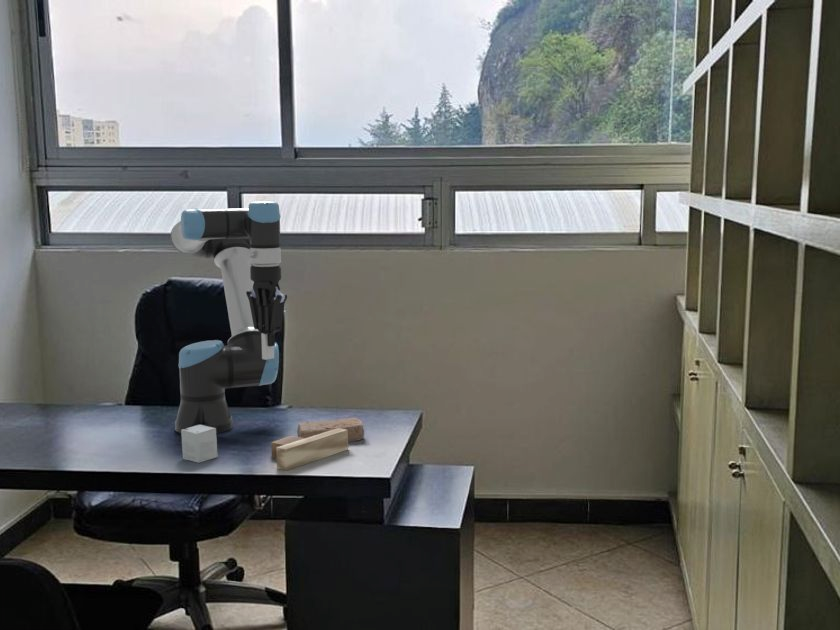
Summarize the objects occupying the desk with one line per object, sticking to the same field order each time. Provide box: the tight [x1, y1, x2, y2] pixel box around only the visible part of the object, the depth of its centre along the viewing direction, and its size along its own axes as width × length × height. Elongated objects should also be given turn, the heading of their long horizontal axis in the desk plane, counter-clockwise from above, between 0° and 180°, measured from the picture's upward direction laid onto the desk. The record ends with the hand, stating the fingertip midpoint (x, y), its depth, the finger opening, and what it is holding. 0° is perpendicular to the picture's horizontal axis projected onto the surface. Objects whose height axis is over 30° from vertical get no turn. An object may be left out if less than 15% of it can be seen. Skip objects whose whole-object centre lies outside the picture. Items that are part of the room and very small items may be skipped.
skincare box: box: [180, 425, 218, 464], centre depth 213 cm, size 6×6×7 cm
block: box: [270, 435, 305, 460], centre depth 215 cm, size 7×7×4 cm
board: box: [276, 428, 349, 471], centre depth 212 cm, size 3×21×5 cm, turn 142°
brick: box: [296, 417, 365, 443], centre depth 229 cm, size 17×8×5 cm, turn 105°
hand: (268, 358), depth 223 cm, fingers closed
